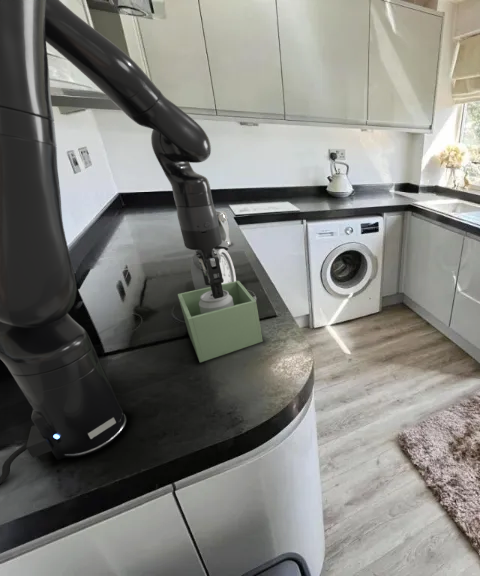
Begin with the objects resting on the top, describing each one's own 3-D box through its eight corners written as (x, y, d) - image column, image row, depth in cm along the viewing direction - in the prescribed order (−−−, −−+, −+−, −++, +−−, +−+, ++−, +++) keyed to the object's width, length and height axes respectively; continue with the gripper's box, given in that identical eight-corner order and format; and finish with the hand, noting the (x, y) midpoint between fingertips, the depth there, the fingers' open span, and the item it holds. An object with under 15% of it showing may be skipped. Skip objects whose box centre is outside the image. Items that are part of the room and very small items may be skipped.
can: (243, 327, 87) (235, 287, 82) (232, 344, 80) (223, 301, 75) (215, 327, 87) (205, 287, 81) (202, 344, 80) (190, 301, 75)
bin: (199, 362, 75) (187, 319, 70) (188, 333, 85) (177, 294, 80) (262, 341, 83) (256, 301, 78) (245, 317, 93) (238, 280, 88)
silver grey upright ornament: (233, 246, 148) (226, 213, 141) (216, 248, 145) (209, 214, 139) (232, 241, 154) (226, 210, 147) (215, 243, 151) (209, 211, 144)
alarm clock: (229, 312, 95) (214, 241, 86) (197, 314, 94) (179, 242, 84) (240, 288, 110) (228, 225, 100) (212, 290, 108) (198, 225, 99)
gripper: (175, 220, 74) (191, 284, 81) (185, 235, 64) (203, 306, 71) (211, 216, 78) (223, 277, 85) (226, 229, 68) (239, 297, 75)
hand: (214, 290), depth 78 cm, fingers open, 8 cm apart
